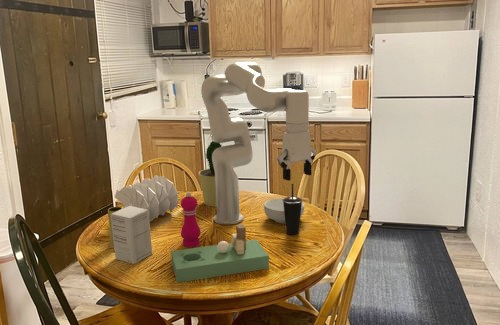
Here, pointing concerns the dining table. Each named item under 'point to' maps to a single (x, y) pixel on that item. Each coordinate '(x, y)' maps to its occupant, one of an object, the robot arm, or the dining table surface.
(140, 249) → the supplement box
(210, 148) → the potted cactus
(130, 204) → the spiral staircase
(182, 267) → the putting mat
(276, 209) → the cereal bowl
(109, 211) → the vase
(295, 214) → the drinking cup
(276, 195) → the dining table surface
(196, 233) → the pepper mill
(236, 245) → the stacked wooden blocks
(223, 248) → the ball
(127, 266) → the dining table surface
